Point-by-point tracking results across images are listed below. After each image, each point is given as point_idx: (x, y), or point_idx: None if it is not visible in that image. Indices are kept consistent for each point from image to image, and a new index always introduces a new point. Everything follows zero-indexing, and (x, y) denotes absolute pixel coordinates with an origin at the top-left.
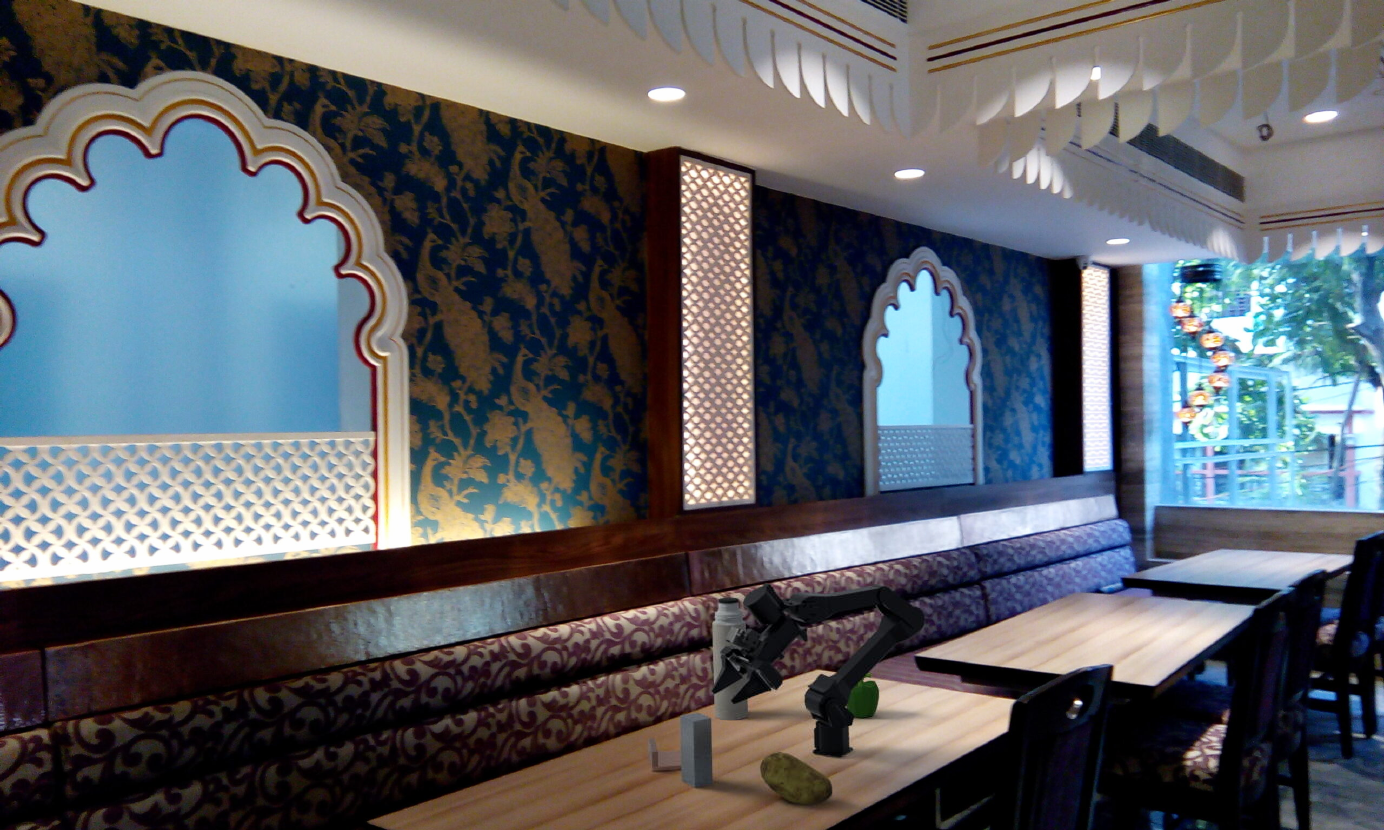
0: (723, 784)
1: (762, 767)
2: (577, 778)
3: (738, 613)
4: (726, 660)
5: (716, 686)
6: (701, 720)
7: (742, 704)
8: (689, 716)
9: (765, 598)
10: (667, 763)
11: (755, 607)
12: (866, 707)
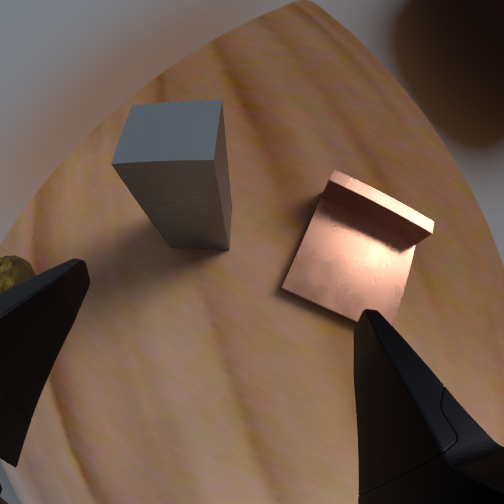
0: (151, 263)
1: (15, 257)
2: (345, 97)
3: None
4: (497, 502)
5: (372, 343)
6: (123, 131)
7: None
8: (189, 116)
9: None
10: (331, 224)
11: None
12: None
